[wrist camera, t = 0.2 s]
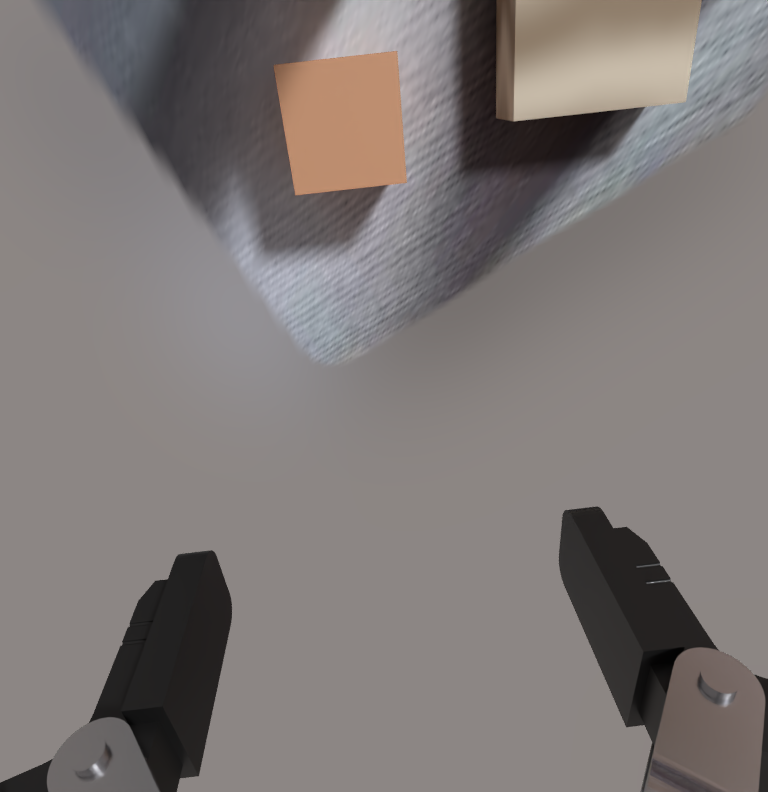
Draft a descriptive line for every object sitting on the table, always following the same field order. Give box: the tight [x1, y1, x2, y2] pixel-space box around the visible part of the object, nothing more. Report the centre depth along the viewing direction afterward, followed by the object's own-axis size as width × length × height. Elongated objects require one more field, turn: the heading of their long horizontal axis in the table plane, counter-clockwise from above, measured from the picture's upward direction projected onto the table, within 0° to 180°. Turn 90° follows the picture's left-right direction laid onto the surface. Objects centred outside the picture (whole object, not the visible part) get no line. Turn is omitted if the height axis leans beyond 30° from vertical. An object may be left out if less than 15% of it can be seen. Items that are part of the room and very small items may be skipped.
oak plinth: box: [496, 0, 702, 121], centre depth 29 cm, size 10×10×4 cm
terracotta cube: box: [273, 51, 407, 195], centre depth 30 cm, size 6×6×6 cm
